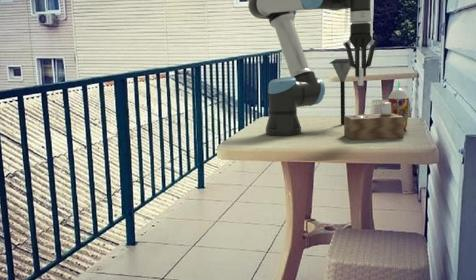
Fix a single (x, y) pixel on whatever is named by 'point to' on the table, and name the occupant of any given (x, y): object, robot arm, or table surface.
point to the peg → (385, 109)
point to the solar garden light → (342, 80)
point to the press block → (373, 126)
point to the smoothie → (399, 103)
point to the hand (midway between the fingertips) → (360, 85)
